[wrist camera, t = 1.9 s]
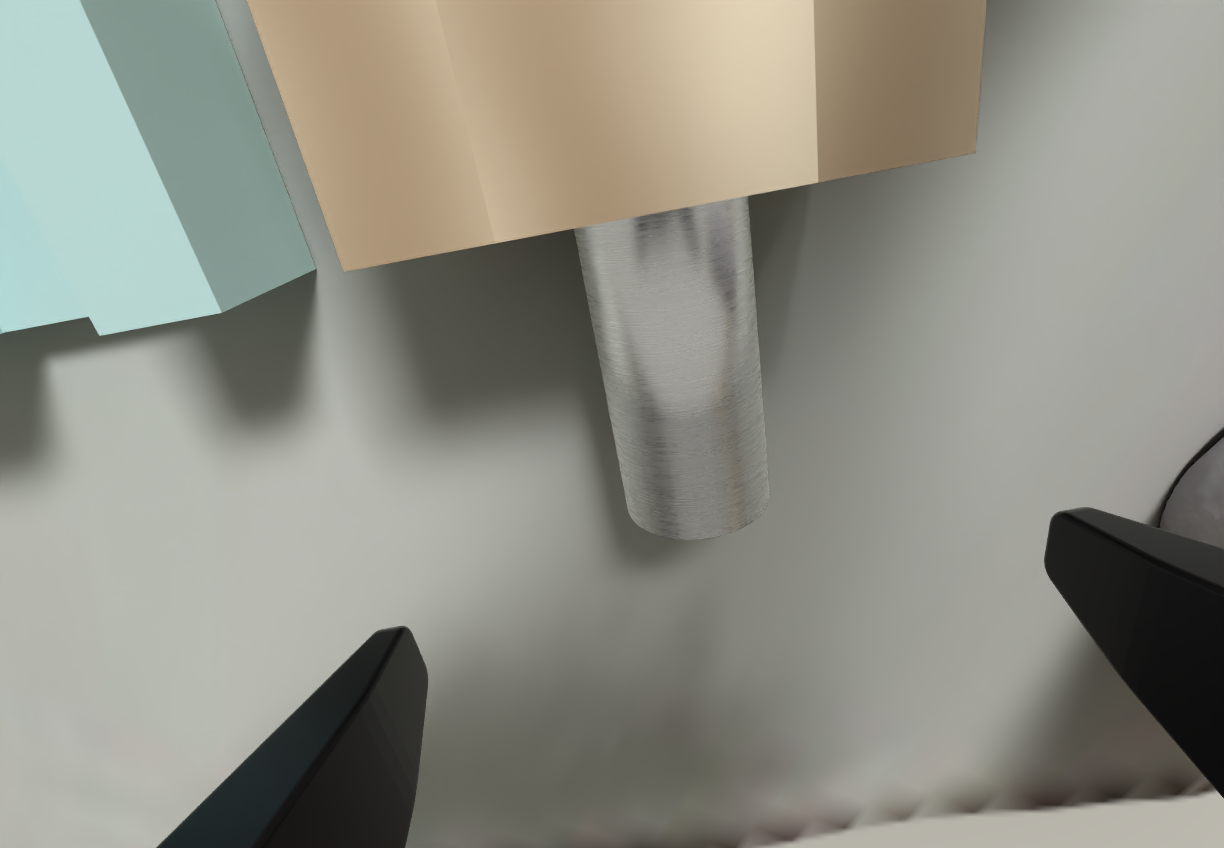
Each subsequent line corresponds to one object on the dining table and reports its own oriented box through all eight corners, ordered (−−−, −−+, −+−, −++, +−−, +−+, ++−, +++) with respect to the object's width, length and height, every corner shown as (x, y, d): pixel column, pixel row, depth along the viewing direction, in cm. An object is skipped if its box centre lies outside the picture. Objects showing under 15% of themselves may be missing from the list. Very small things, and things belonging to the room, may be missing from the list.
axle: (425, -423, 9) (436, -725, 6) (636, -419, 10) (740, -686, 7) (609, 486, 16) (658, 558, 13) (726, 448, 16) (798, 508, 13)
